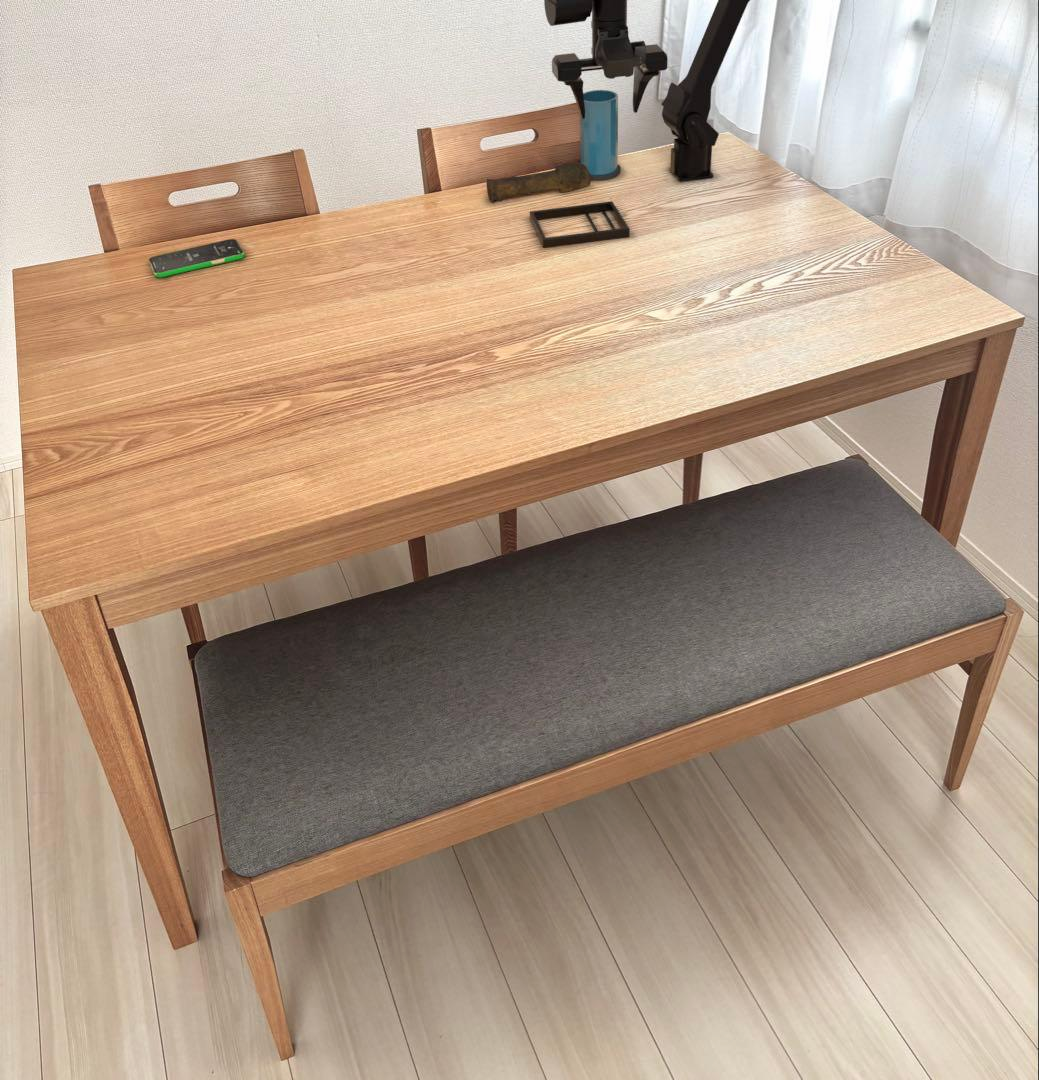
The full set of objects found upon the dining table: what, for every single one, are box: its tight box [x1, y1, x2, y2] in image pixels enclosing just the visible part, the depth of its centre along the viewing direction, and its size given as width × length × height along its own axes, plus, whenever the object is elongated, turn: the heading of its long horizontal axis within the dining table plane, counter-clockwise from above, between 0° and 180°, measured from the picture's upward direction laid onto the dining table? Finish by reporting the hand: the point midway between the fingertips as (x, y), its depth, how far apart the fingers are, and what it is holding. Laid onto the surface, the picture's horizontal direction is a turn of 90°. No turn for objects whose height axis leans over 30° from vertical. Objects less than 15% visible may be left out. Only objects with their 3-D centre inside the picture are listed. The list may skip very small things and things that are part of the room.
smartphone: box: [148, 238, 246, 279], centre depth 175 cm, size 8×1×15 cm
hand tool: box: [486, 161, 591, 203], centre depth 188 cm, size 19×4×5 cm, turn 101°
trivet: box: [590, 164, 622, 182], centre depth 195 cm, size 8×8×1 cm
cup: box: [579, 89, 619, 175], centre depth 191 cm, size 7×7×13 cm
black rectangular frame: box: [529, 201, 630, 249], centre depth 177 cm, size 15×12×2 cm
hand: (609, 115), depth 181 cm, fingers open, 9 cm apart
